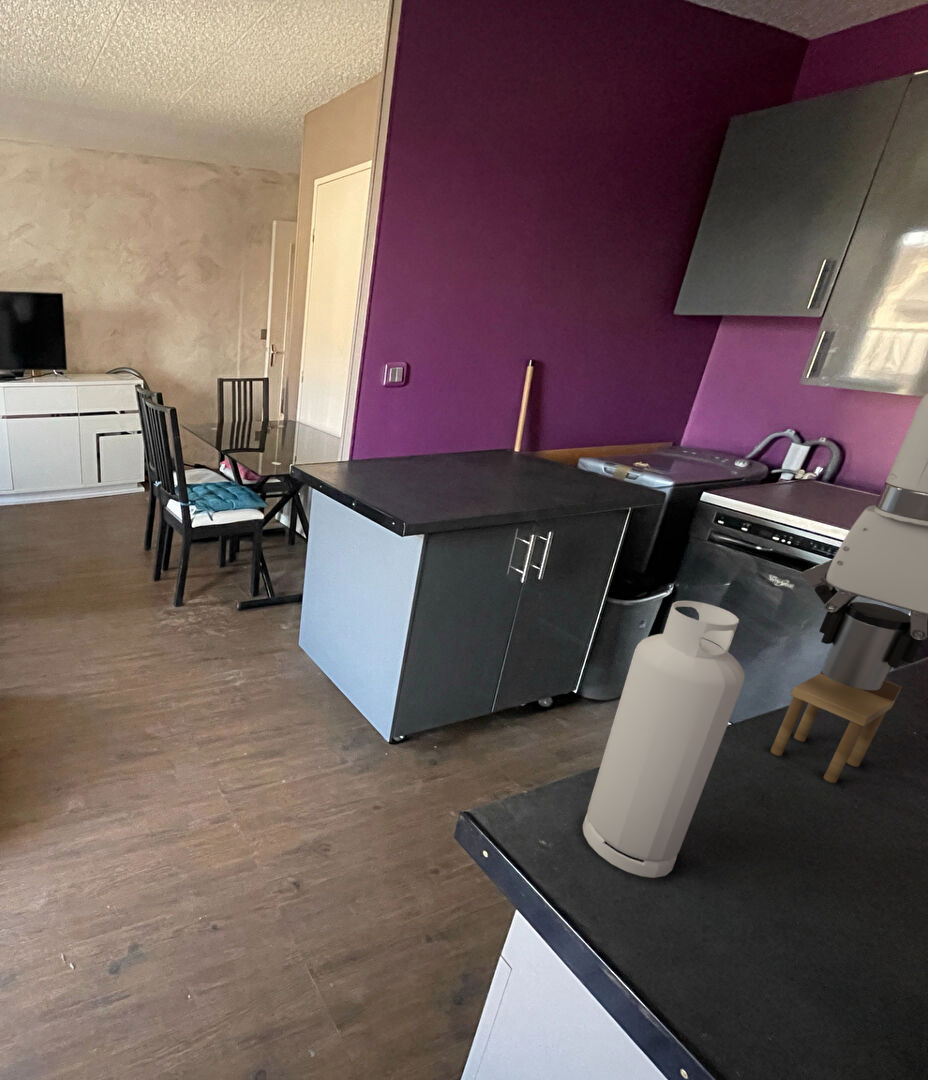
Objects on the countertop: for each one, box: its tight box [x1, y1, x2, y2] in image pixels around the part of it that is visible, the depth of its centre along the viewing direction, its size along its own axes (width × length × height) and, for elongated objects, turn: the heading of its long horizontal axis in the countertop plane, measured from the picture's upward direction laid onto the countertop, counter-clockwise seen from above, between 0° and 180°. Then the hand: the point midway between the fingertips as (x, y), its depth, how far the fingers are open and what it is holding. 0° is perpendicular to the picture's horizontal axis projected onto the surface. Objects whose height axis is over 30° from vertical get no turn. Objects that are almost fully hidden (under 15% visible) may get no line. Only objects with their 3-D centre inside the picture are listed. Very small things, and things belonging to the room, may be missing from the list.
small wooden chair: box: [770, 670, 903, 784], centre depth 72 cm, size 8×7×12 cm
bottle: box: [582, 600, 746, 878], centre depth 57 cm, size 8×8×28 cm
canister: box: [820, 601, 910, 690], centre depth 68 cm, size 5×5×9 cm
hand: (862, 650), depth 68 cm, fingers closed on canister, 5 cm apart
